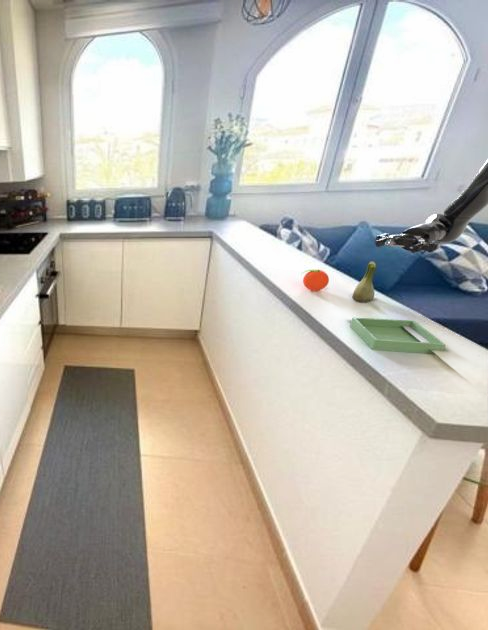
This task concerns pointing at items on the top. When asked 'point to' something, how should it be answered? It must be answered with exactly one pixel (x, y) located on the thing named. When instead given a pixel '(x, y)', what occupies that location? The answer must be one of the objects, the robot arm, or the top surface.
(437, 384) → the top surface
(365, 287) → the fennel bulb
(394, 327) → the green tray
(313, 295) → the top surface
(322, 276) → the tomato
